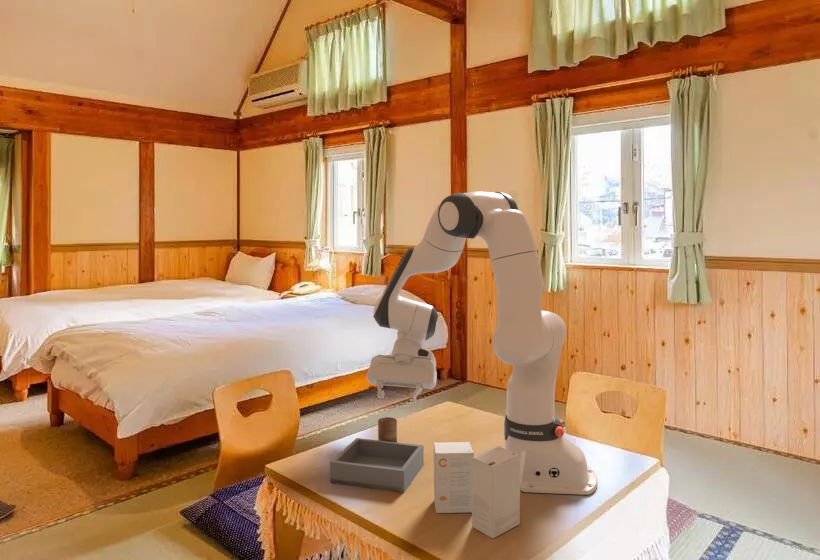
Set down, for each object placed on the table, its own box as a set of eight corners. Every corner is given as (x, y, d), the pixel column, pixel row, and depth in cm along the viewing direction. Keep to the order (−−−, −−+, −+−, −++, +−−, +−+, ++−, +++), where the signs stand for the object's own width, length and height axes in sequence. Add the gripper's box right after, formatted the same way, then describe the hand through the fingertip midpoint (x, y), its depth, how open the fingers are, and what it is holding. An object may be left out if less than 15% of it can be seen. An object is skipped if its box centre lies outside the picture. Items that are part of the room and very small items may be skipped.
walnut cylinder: (399, 447, 156) (399, 418, 156) (393, 453, 152) (393, 424, 151) (382, 445, 158) (381, 416, 157) (375, 451, 153) (375, 422, 152)
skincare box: (498, 514, 119) (499, 444, 118) (521, 526, 115) (522, 453, 113) (470, 528, 114) (470, 455, 113) (492, 540, 109) (493, 464, 108)
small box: (470, 499, 126) (470, 441, 125) (474, 513, 120) (474, 452, 119) (433, 499, 126) (433, 441, 125) (435, 513, 120) (434, 453, 119)
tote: (423, 464, 145) (423, 445, 144) (404, 492, 129) (403, 471, 129) (356, 456, 150) (356, 438, 149) (330, 482, 135) (330, 461, 134)
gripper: (370, 348, 170) (358, 390, 161) (437, 352, 164) (428, 396, 155) (375, 360, 174) (364, 401, 166) (441, 364, 168) (432, 407, 160)
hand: (395, 398), depth 161 cm, fingers open, 8 cm apart
